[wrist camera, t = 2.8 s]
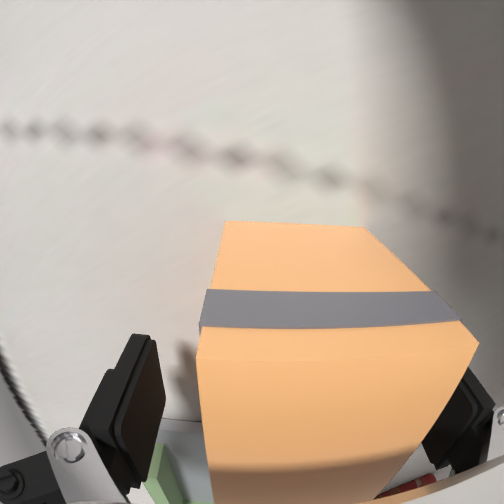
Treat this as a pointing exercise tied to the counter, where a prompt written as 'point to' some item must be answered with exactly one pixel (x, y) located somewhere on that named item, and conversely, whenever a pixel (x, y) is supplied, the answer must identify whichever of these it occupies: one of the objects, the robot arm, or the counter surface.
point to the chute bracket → (179, 465)
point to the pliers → (409, 486)
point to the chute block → (319, 364)
